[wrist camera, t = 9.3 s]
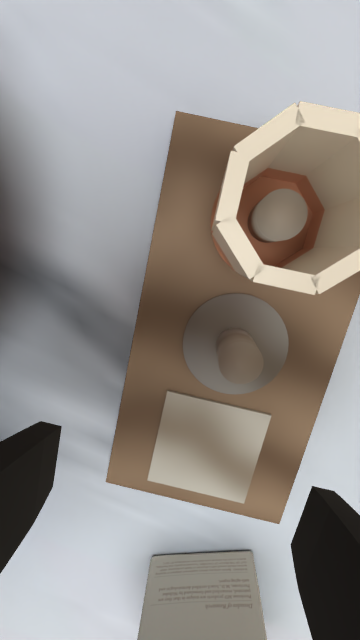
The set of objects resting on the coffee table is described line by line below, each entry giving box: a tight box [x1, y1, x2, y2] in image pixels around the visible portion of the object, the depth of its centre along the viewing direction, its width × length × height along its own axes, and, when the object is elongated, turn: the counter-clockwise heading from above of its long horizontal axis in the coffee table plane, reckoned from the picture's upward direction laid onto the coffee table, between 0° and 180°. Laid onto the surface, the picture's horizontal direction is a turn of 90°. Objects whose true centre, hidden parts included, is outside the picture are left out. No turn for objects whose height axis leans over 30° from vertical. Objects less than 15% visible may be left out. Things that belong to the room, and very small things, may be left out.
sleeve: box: [211, 101, 360, 295], centre depth 12 cm, size 5×5×6 cm
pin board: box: [106, 111, 360, 524], centre depth 16 cm, size 21×11×4 cm, turn 168°
